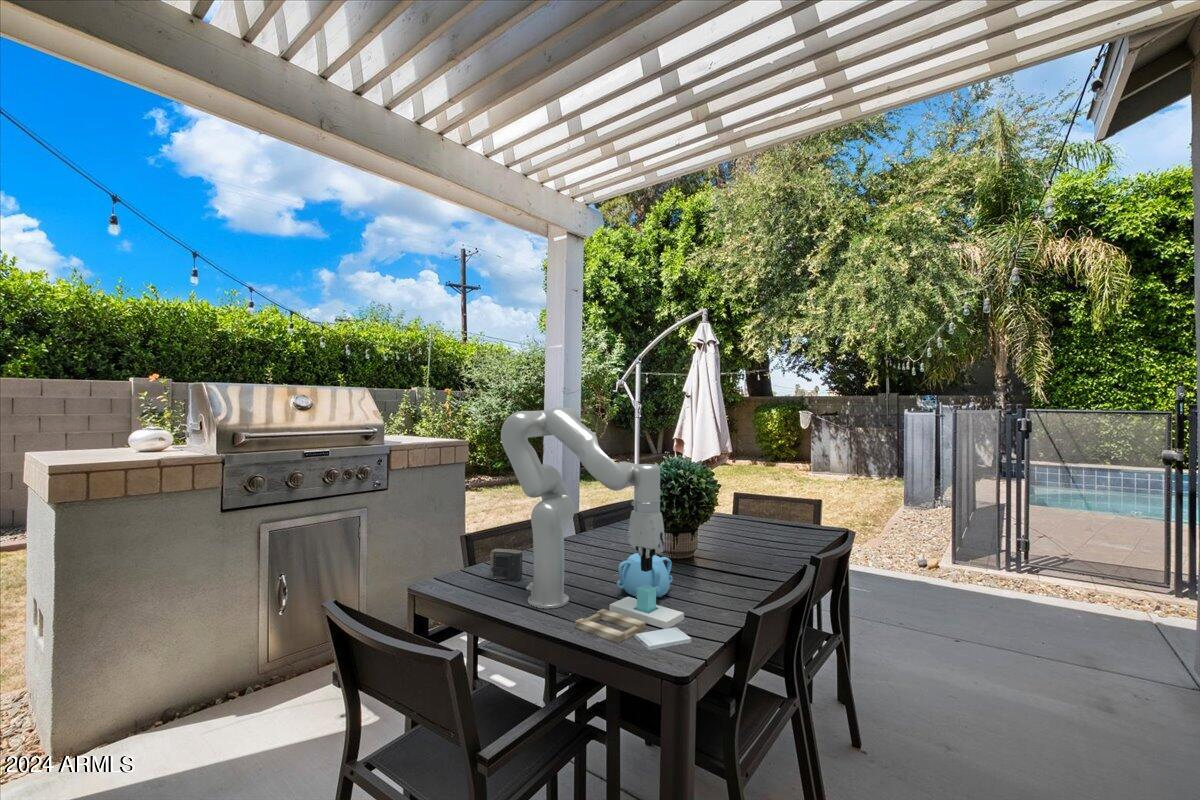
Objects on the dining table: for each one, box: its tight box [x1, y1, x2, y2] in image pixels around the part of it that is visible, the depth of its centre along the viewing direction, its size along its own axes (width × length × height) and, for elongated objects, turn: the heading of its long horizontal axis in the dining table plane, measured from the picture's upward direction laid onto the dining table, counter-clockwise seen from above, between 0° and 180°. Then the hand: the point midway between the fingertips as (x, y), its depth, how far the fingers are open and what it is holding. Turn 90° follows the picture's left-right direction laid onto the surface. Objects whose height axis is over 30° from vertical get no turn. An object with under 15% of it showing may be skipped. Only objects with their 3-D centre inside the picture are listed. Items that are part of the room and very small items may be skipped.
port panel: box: [608, 596, 685, 629], centre depth 160 cm, size 20×9×2 cm, turn 50°
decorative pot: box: [616, 552, 674, 599], centre depth 178 cm, size 16×16×14 cm
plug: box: [637, 585, 657, 614], centre depth 160 cm, size 4×4×8 cm
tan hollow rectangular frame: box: [574, 608, 647, 644], centre depth 150 cm, size 15×12×2 cm
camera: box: [488, 548, 523, 582], centre depth 192 cm, size 11×6×10 cm, turn 74°
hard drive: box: [633, 626, 693, 651], centre depth 144 cm, size 2×8×12 cm
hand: (646, 570), depth 160 cm, fingers closed
